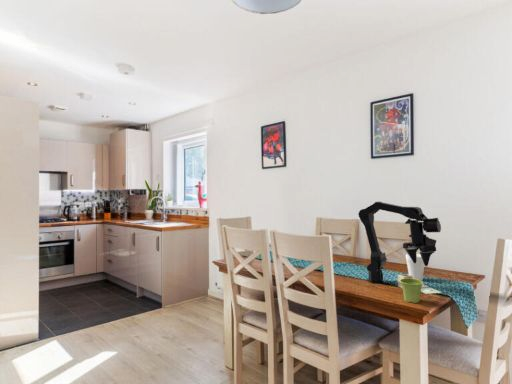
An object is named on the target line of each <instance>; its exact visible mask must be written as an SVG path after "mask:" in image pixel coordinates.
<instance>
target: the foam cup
mask: <svg viewBox="0 0 512 384" xmlns="http://www.w3.org/2000/svg"><path fill="white" fill-rule="evenodd" d="M405 259H406V267H407V272H408V275H411V276H413V279H418V280H421V281H423V279H424V271H425V270H424V269H425V265H424V262H423V260H422V257H421V255H420V253H416V263H414V262H413V261H412V259H411V258H410V256H409V254H408V253H406V254H405Z"/></svg>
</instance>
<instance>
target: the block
mask: <svg viewBox="0 0 512 384" xmlns="http://www.w3.org/2000/svg"><path fill="white" fill-rule="evenodd" d="M406 278H410V279H413V276H411V275H409V273H403V274H401V273H400V274H397V287H398V288H400V289H402V285H401V282H400V280H401V279H406Z"/></svg>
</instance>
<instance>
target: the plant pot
mask: <svg viewBox="0 0 512 384" xmlns="http://www.w3.org/2000/svg"><path fill="white" fill-rule="evenodd" d="M400 282H401V285H402V288H401V289H402V293H403V300H404V301H405V302H407V303H413V304H416V303H417V304H419V303H420V300H421V293H422V292H421V287H422V284H423V285H424V281H423V280H418V279H410V278H406V279H401V280H400Z"/></svg>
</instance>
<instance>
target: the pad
mask: <svg viewBox="0 0 512 384" xmlns="http://www.w3.org/2000/svg"><path fill="white" fill-rule="evenodd" d="M421 293H424V294H425V295H431V294H443V292H442V291H440V290H438V289H435V288H433V287H428V288H421Z"/></svg>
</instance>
